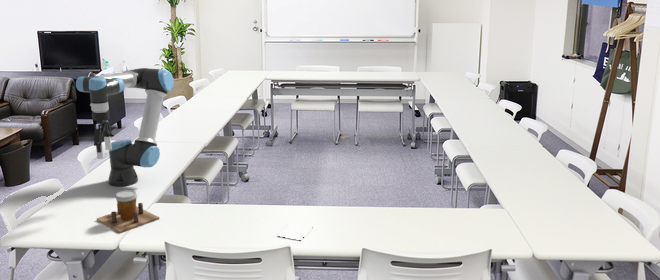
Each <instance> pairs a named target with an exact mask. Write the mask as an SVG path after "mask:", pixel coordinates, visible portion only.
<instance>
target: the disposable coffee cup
mask: <svg viewBox="0 0 660 280" xmlns="http://www.w3.org/2000/svg"><path fill="white" fill-rule="evenodd" d="M137 198H138V193H137V192H136V191H135V190H131V189H130V190H129V189H127V190H121V191H118V192H117V193H116V194H115V201H116V205H117V204H118V208H119V212H120V216H121V219H122V220H132V219H134V217H133V212H134V211H136V206H137Z"/></svg>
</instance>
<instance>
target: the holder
mask: <svg viewBox="0 0 660 280" xmlns="http://www.w3.org/2000/svg"><path fill="white" fill-rule="evenodd" d="M137 205H138V206H137ZM137 205H136V211H134V212H133V217H134V219H132V220H122V219H121V216H120V212H119V208H118V204H117V203H116V206H117V207H116V209H117V211H115V210H114V211H111V213H109V214H106V215H103V216H99V217H96V221H97V222H99V223H101V224H103V225H104V226H106V227H108V228H110V229H111V230H113V231H114V232H116V233H119V234H122V233H125V232H128V231H130V230H133V229H136V228H139V227H142V226H145V225H147V224H150V223H153V222H155V221H159V220H160V217H159V216H157V215H156V214H154V213H151V212H149V211H147V210H145V209H144V205H143V202H138V203H137Z"/></svg>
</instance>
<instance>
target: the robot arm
mask: <svg viewBox="0 0 660 280" xmlns="http://www.w3.org/2000/svg"><path fill="white" fill-rule="evenodd" d="M174 83H175V82H174V78H173V75H172V73H171V72H170V71H169V70H167V69H163V68H148V67H147V68H146V67H141V68H134V69H127V70H125V71H123V72H119V73H109V74H104V75H103V74H102V75H94V76H86V75H85V76H78V78H77V79H76V81H75V87H76V89H77V90H78V91H79V92H82V93H89V98H90V104H89V106H90V107H91V108H90V109H91V111H92V112H91V117H92V120H93V121H96V124H94V126H93V127H94V137H93V141H94V142H93V146H94V147H95V148H96V158H97V160H103V159H104V158H105V157H104V149H105V150H106V151H108V153H109V154H108V155H109V163H110V171H109V175H108V184H109V185H110V186H112V187H113V186H114V187H126V186H131V185H134V184H136V183H137V182H138V181H139V176H138V173H137V171H136V169H135V167H142V168H152V167H154V166H155V165H156V164H157V163H158V162H159V160H160V156H161V152H160V148H159V147H158V142H156V138H157V137H156V136H157V131H158V127H159V121H160V116H161V111H162V107H163V102H164V101H163V100H164V98H165V97H167V95H168V92H171V91H172V90H173V89H174V85H175V84H174ZM125 88H127V89H140V90H144V92H145V94H146V99H145V104H144V108H143V113H142V117H141V118H142V119H141V123H140V128H139V134H138V137H137V138H135V139H134V141H133V142H132V140H131V139H119V140H116V141H112V140H111V137H113V134H112V133H113V132H112V130H111V129H112V128H111V126H110V121H109V119H110V111H109V110H110V107H109V105H110V104H109V98H108V97H111V96H114V95H118V94H119V93H122V92H123V91H124V90H125ZM103 135H104V147H105V148H104V149H103ZM134 166H135V167H134Z"/></svg>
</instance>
